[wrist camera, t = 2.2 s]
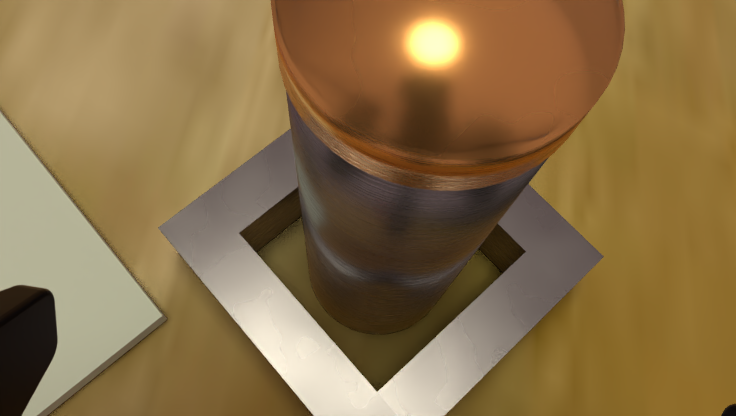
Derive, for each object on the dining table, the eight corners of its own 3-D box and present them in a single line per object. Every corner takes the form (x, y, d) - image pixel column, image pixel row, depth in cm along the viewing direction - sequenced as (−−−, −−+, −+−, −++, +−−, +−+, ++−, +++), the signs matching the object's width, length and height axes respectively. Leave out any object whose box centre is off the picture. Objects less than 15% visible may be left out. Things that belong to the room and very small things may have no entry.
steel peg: (475, 271, 20) (695, 16, 8) (372, 367, 19) (448, 235, 7) (381, 175, 21) (450, -183, 9) (278, 259, 20) (196, -24, 8)
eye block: (572, 277, 20) (603, 256, 18) (367, 480, 18) (373, 486, 15) (385, 93, 22) (391, 52, 20) (178, 252, 20) (158, 227, 17)
